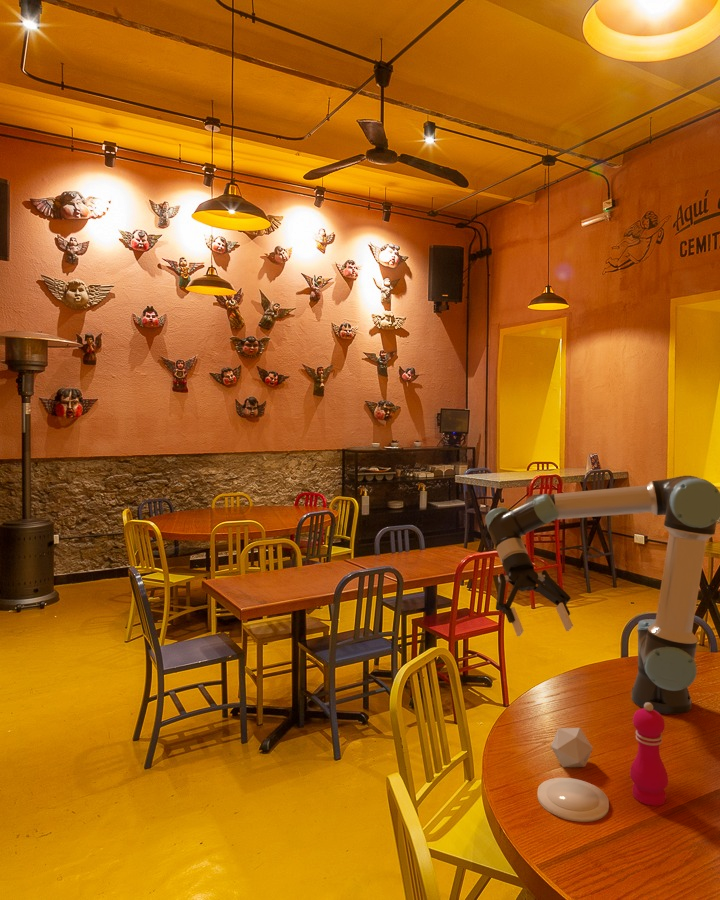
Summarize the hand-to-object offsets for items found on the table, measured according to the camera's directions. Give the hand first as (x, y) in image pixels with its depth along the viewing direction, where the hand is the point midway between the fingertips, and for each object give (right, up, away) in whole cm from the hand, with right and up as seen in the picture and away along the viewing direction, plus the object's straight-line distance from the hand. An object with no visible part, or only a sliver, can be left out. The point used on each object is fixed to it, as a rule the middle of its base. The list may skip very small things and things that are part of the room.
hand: (545, 631), depth 154 cm
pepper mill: (+15, -28, -24) cm, 40 cm away
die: (+3, -28, -10) cm, 30 cm away
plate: (-2, -28, -25) cm, 37 cm away
